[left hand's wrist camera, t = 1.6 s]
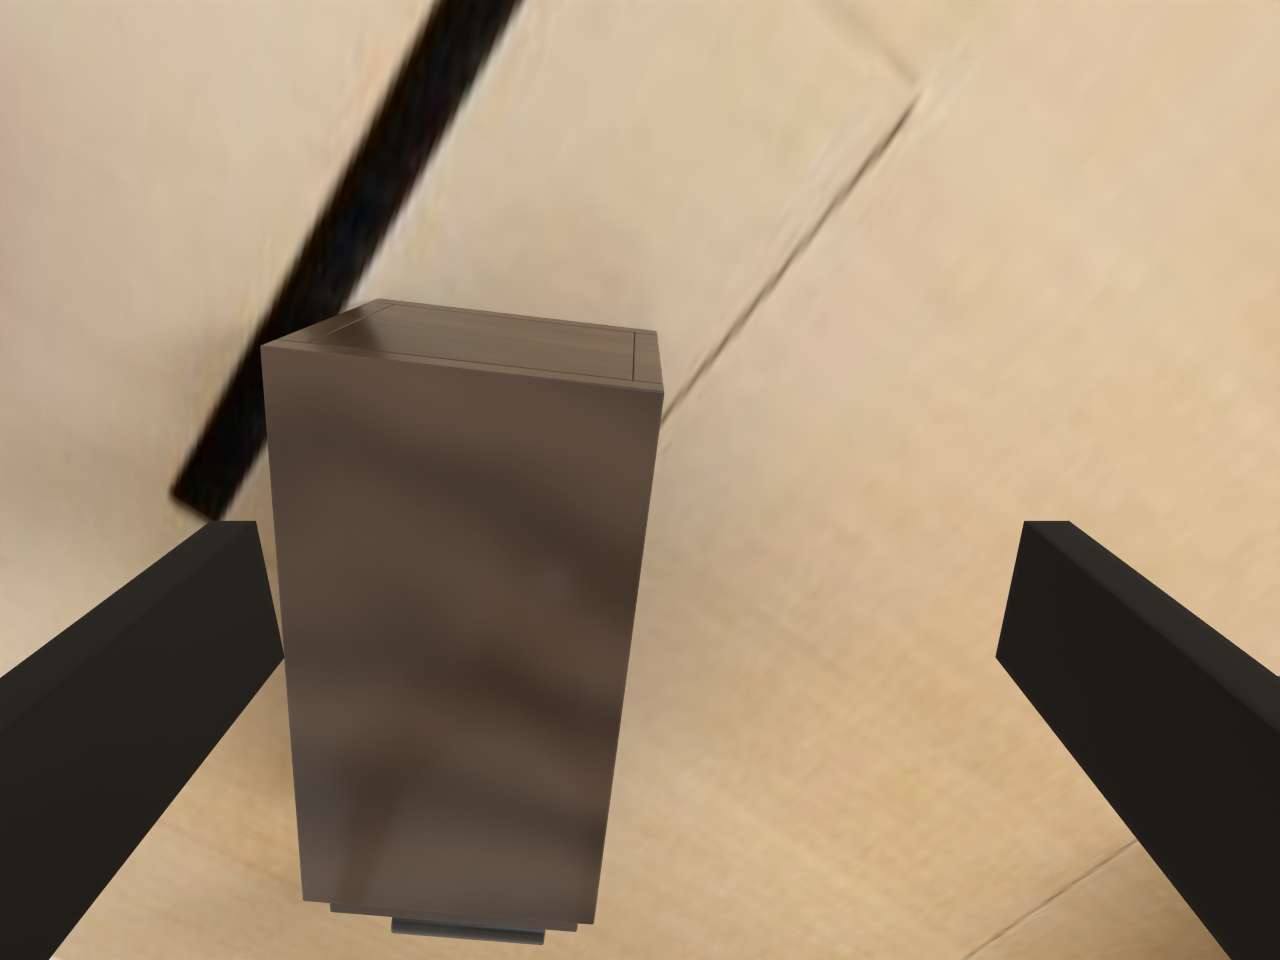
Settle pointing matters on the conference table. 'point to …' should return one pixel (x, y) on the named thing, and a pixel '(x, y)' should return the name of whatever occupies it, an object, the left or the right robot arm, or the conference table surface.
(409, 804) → the cabinet
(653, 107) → the conference table surface
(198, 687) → the left robot arm
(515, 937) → the drawer
